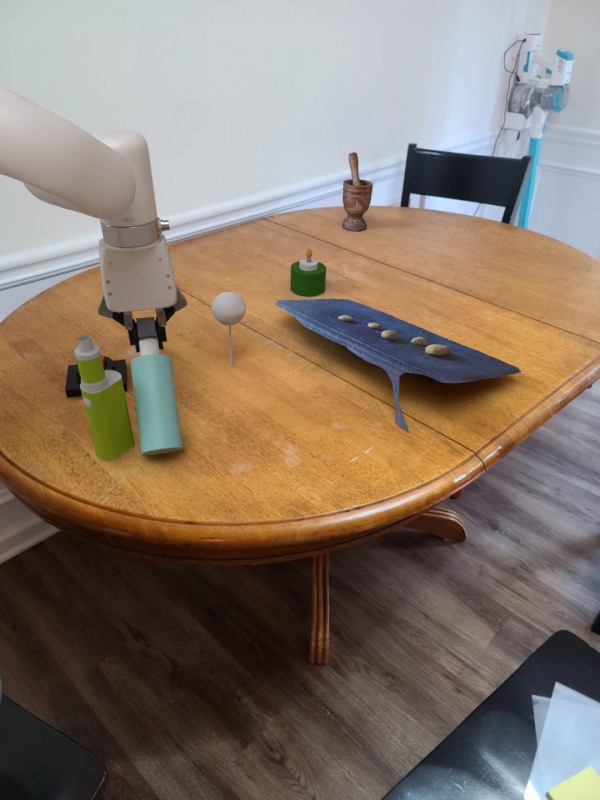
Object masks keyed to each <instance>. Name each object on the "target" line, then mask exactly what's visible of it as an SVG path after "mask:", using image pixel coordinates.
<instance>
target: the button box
mask: <svg viewBox="0 0 600 800" xmlns="http://www.w3.org/2000/svg"><path fill="white" fill-rule="evenodd" d="M103 356H104V360H105V365H106V366H105V368H104V370H114V371H117V372H119V373H120V374H121V376H122V382H123V387H124V392H127V391H128V367H127V360H126V359H125V358H124V359H116V360H115V359H114V360H113V359H112V358H111V357H109V356H105V355H103ZM80 384H81V376H80V372H79V368H78V364H77V363H76V364H68V365H67V371H66V378H65V385H64V386H65V387H64V392H65V395H66V398H67V399H70V398H78V397H82V393H81V388H80Z"/></svg>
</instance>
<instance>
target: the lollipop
mask: <svg viewBox="0 0 600 800" xmlns="http://www.w3.org/2000/svg"><path fill="white" fill-rule="evenodd" d="M210 308H211V312H212V315H213V317H214V319H215V321H217V322H218V323H220V324H221V325H224V326H228V327H227V328H228V344H229V345H228V346H229V365H230V368H233V367H234V361H233V360H234V359H233V339H232V337H233V336H232V326H234V325H237V324H239V323H240V322H241V321H242V320H243V319H244V317H245V314H246V312H247V305H246V303H245V301H244V299H243V297H242V296H241V295H239V294H238V293H237V292H234V291H230V290H229V291H222V292H220V293H219V294H217V295H216V296H215V298H214V299H213V301H212V303H211V307H210Z"/></svg>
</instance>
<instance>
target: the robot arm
mask: <svg viewBox="0 0 600 800" xmlns="http://www.w3.org/2000/svg"><path fill="white" fill-rule="evenodd" d="M0 175H1V176H4V177H8V178H11V179H13V180H17V181H19V182H20V183H21V182H22V184H23V185H24V187H25V188H26V190H27V191H28V193H30V194H31V195H32V196H34V197H35V198H36V199H38V200H40V201H41V202H43V203H46V204H49V205H52V206H55V207H59V208H62V209H65V210H69V211H72V212H76V213H79V214H82V215H86V216H89V217H91V218H94V219H98V220H99V223H100V228H101V233H102V238H100V239H99V241H98V260H99V270H100V277H101V285H102V290H103V291H102V294H101V298H100V300H99V304H98V306H97V314H98V315H99V316H101V317H103V318H104V317H105V318H108V319H112V320H113V321H115V322H117V323H118V324H120V325H121V326H122V327H124V329H125V330H127V333H128V334H127V335H128V340H129V345H130V346H134V348H135V352H136V353H137V354H138V353H140V346H139V337H138V330H137V321H136V319H135V318H133V312H137V311H147V310H154V311H155V315H156V316H155V319H154V320H155V326H156V334H157V340H158V345H159V351H163V350H164V348H165V347H164V343H165V342H168V337H167V330H166V326H167V324H168V323H167V322H168V321H169V320H171V318H172V317H173V316H174V315H175V314H176V313H177V312H179V311H181V310H182V309H184V308H186V307H187V306H188V301H187V298H186V296H185V295H184V294H183V293H182V291H181V290H180V288H179V287H178V286H177V283H176V278H175V272H174V266H173V260H172V256H171V252H170V247H169V244H168V241H167V238H166V236H165V235H164V234H163V233H162V232H165V231H170V230H171V228H170V221H169V219H163V218H162V219H161V218H160V217H158V211H157V201H156V196H155V188H154V181H153V179H154V178H153V172H152V163H151V156H150V150H149V144H148V142H147V140H146V138H145V137H144V135H142V134H140V133H139V132H137V131H132V130H123V129H119V130H118V129H116V130H115V129H114V130H113V129H111V130H104V131H99V132H95V133H93V134H91V133H89V132H88V131H86V130H84V129H83V128H82V127H80V126H78V125H77V124H75V123H73V122H71V121H70V120H68V119H66V118H64V117H62V116H61V115H60V114H57V113H55V112H53V111H51V110H49V109H47V108H45V107H44V106H41V105H40V104H37V103H36V102H34V101H32V100H30V99H28V98H26V97H24V96H22V95H21V94H19V93H18V92H15V91H14V90H11V89H10V88H8V87H7V86H4V85H3V84H1V83H0ZM136 353H135V354H136Z"/></svg>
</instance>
